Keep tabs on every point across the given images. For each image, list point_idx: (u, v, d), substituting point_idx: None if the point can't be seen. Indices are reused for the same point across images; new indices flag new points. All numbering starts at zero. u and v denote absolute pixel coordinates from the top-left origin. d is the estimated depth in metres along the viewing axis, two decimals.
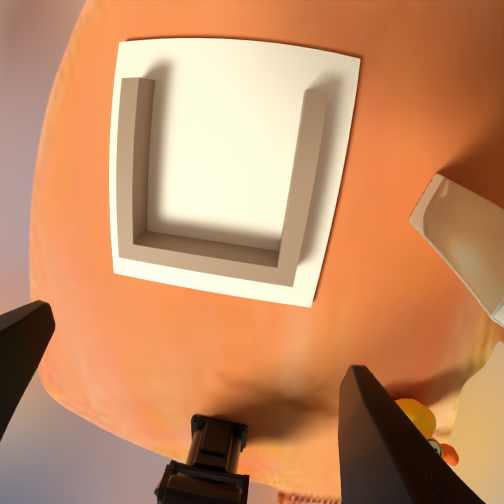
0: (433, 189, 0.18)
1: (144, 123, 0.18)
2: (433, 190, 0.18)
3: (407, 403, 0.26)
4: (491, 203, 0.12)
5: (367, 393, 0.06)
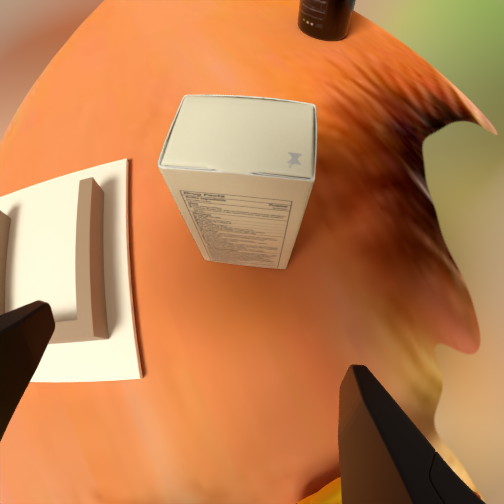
0: None
1: (0, 243, 0.21)
2: None
3: None
4: None
5: (367, 393, 0.06)
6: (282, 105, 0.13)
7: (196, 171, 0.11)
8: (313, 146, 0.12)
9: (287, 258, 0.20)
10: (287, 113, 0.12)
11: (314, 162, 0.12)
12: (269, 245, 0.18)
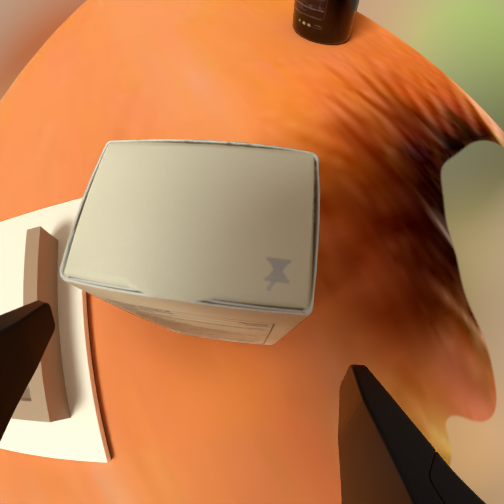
0: None
1: None
2: None
3: None
4: None
5: (367, 393, 0.06)
6: (261, 156, 0.08)
7: (113, 291, 0.07)
8: (312, 240, 0.07)
9: (274, 342, 0.15)
10: (269, 172, 0.07)
11: (313, 275, 0.07)
12: (248, 337, 0.13)
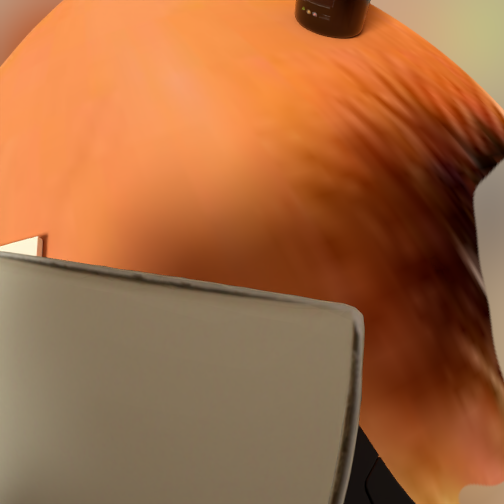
0: None
1: None
2: None
3: None
4: None
5: None
6: (214, 326, 0.03)
7: None
8: None
9: None
10: (234, 384, 0.03)
11: None
12: None
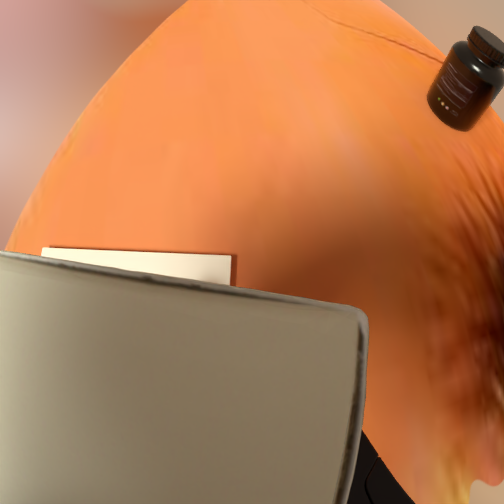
0: None
1: None
2: None
3: None
4: None
5: None
6: (224, 327, 0.03)
7: None
8: None
9: None
10: (243, 384, 0.03)
11: None
12: None
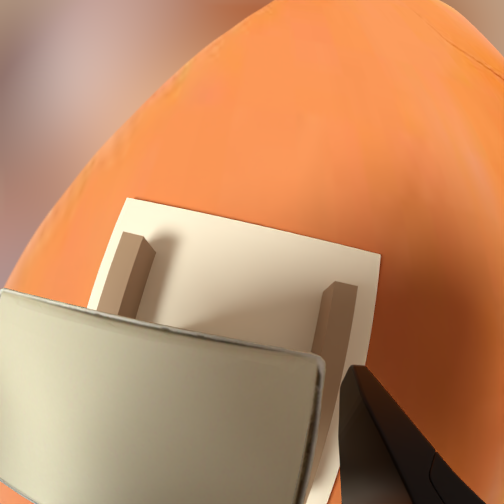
0: None
1: (133, 297, 0.16)
2: None
3: None
4: None
5: (367, 393, 0.06)
6: (220, 366, 0.04)
7: None
8: None
9: None
10: (233, 405, 0.04)
11: None
12: None
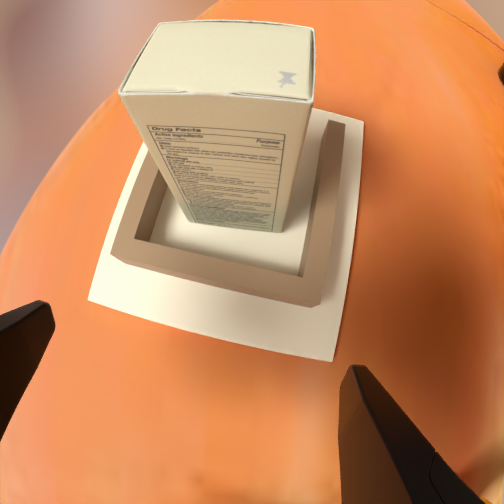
0: None
1: None
2: None
3: None
4: None
5: (367, 393, 0.06)
6: (273, 27, 0.09)
7: (163, 94, 0.08)
8: (311, 67, 0.09)
9: (282, 218, 0.17)
10: (280, 34, 0.09)
11: (312, 83, 0.08)
12: (260, 200, 0.15)
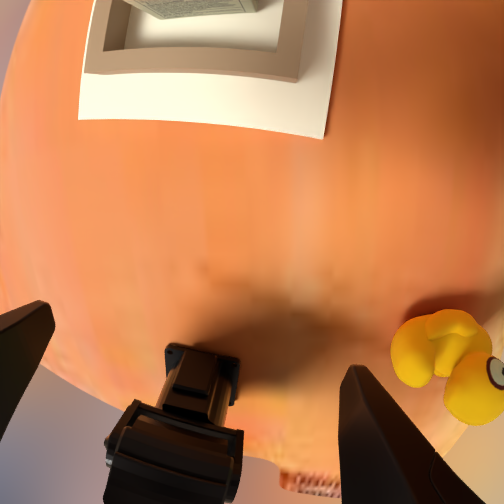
0: None
1: None
2: None
3: (455, 313, 0.19)
4: None
5: (367, 393, 0.06)
6: None
7: None
8: None
9: None
10: None
11: None
12: None
